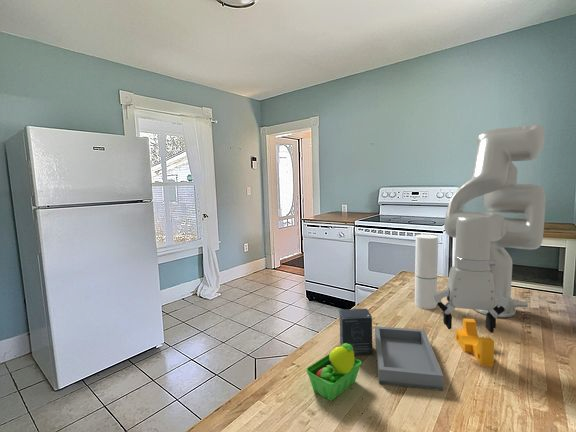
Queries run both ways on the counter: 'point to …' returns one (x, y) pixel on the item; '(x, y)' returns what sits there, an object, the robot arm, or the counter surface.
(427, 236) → the cylindrical container
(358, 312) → the box
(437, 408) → the counter surface
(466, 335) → the orange toy block
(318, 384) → the fruit basket
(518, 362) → the counter surface
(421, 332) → the tray
